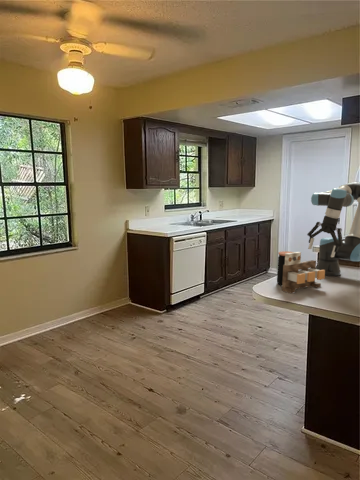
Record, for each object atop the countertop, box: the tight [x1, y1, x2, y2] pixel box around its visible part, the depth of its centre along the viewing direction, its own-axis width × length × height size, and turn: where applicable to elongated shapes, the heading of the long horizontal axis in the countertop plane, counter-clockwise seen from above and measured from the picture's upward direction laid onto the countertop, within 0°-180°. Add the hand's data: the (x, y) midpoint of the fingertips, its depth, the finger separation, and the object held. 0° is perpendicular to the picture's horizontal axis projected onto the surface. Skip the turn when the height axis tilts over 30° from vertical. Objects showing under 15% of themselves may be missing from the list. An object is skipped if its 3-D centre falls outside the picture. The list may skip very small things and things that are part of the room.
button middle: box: [298, 270, 316, 282], centre depth 189 cm, size 5×8×5 cm, turn 32°
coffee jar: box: [276, 250, 294, 286], centre depth 200 cm, size 11×11×18 cm
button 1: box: [288, 272, 305, 284], centre depth 185 cm, size 5×8×5 cm, turn 32°
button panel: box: [281, 251, 322, 294], centre depth 191 cm, size 24×6×20 cm, turn 122°
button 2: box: [308, 268, 326, 281], centre depth 194 cm, size 5×8×5 cm, turn 32°
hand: (320, 252), depth 201 cm, fingers open, 13 cm apart
